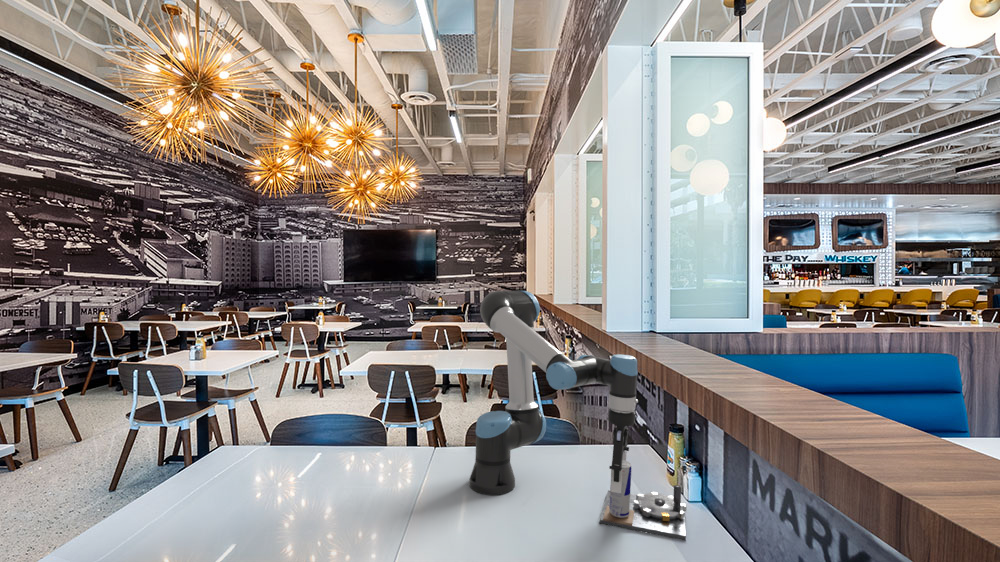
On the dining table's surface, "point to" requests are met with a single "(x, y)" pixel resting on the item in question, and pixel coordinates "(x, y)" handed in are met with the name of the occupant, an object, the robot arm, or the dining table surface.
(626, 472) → the beverage can
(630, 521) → the marked pad
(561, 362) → the robot arm
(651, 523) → the base plate
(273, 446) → the dining table surface
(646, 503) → the index wheel
